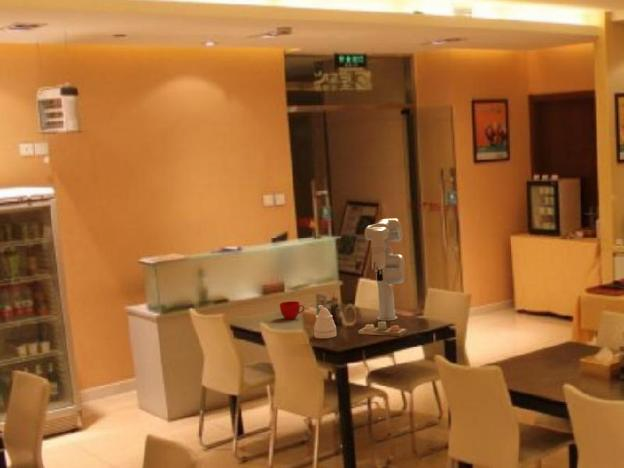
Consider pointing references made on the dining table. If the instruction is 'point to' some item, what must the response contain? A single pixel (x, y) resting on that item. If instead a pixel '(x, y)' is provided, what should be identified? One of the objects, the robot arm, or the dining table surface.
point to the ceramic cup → (290, 309)
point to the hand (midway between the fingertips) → (380, 280)
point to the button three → (395, 328)
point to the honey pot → (324, 324)
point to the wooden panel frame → (382, 331)
